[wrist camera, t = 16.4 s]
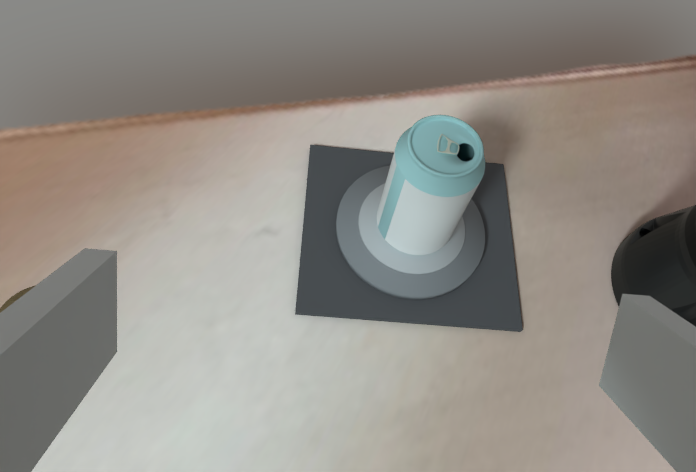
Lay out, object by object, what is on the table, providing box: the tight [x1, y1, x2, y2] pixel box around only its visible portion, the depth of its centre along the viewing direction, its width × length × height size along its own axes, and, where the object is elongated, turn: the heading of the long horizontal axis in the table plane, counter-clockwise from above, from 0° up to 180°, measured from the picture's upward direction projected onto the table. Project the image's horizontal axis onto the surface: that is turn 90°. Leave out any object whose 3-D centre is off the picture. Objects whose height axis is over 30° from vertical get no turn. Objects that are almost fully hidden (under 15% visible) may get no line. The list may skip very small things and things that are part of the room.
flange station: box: [295, 145, 523, 332], centre depth 54 cm, size 20×18×2 cm
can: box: [377, 115, 485, 255], centre depth 48 cm, size 7×7×12 cm
